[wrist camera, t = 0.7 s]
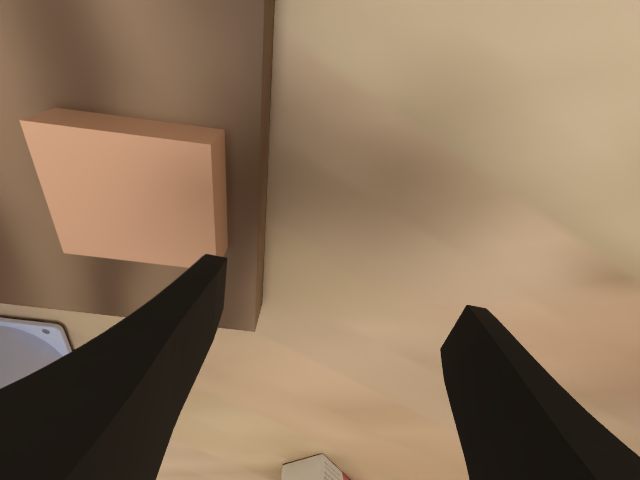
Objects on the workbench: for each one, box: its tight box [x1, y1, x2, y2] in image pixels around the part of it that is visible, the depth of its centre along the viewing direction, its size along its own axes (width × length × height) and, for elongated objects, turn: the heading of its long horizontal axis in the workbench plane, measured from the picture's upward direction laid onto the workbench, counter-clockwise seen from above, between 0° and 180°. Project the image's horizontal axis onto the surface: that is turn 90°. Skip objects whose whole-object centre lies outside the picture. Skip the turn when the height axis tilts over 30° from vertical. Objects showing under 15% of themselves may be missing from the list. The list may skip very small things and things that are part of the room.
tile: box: [19, 108, 228, 268], centre depth 16 cm, size 7×6×2 cm
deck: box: [0, 0, 275, 332], centre depth 17 cm, size 16×20×2 cm
